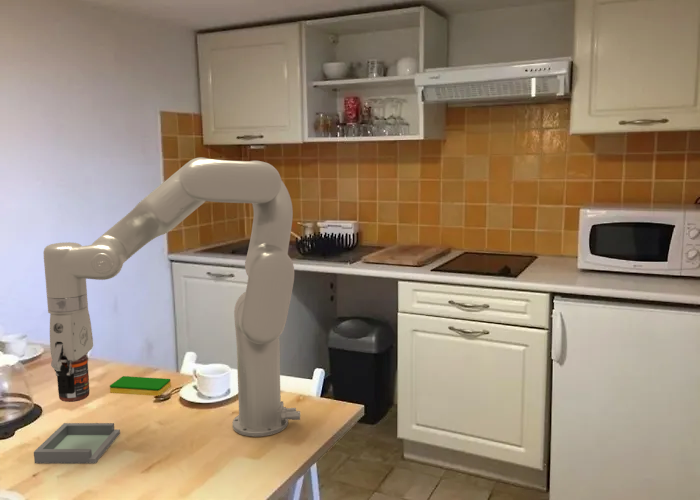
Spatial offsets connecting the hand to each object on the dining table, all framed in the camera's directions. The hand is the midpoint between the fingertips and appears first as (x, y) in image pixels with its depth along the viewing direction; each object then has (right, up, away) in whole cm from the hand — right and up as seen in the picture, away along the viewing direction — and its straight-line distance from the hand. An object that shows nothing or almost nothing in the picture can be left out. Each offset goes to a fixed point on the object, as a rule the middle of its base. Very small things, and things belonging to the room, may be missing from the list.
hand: (74, 386), depth 133 cm
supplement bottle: (0, -3, 0) cm, 3 cm away
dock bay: (0, -14, +2) cm, 14 cm away
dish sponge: (+2, -9, +35) cm, 36 cm away
